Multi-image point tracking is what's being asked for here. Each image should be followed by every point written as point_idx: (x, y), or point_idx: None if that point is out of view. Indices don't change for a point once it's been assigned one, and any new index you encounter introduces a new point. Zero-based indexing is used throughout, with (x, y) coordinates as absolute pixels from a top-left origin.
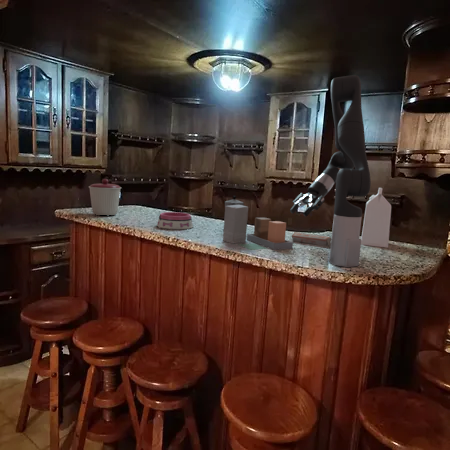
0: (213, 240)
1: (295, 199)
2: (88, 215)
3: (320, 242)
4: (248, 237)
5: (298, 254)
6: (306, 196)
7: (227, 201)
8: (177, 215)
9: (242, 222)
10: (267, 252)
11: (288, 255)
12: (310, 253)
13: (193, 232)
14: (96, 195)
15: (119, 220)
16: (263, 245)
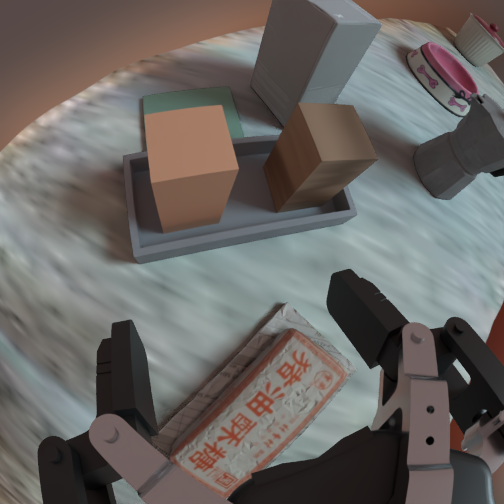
0: None
1: (479, 348)
2: (451, 38)
3: (184, 436)
4: None
5: (60, 247)
6: (401, 499)
7: (492, 100)
8: (470, 87)
9: (288, 53)
10: (112, 141)
11: (56, 199)
12: (69, 312)
13: (395, 78)
14: (466, 22)
15: (441, 45)
16: None
